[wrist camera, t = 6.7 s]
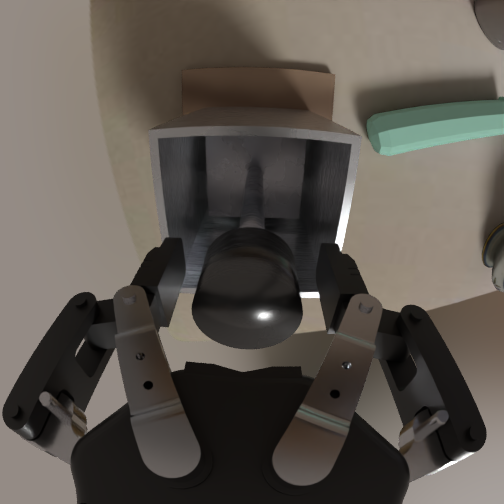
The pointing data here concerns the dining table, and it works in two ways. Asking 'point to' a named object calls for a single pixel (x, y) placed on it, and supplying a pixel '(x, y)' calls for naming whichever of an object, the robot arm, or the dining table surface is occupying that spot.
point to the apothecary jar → (495, 256)
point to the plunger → (251, 242)
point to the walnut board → (258, 89)
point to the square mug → (290, 230)
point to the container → (434, 125)
